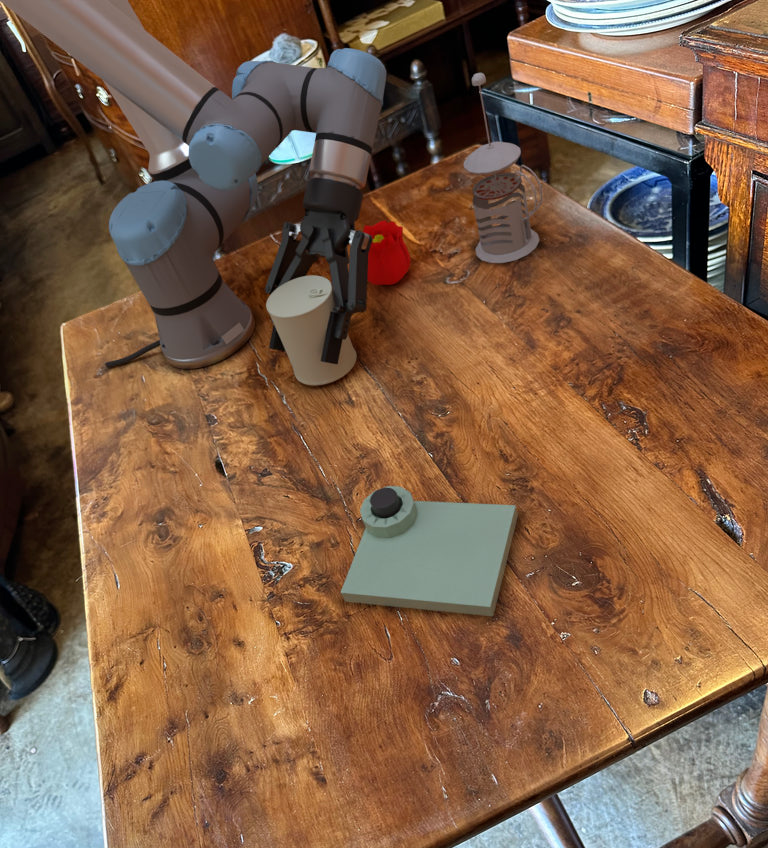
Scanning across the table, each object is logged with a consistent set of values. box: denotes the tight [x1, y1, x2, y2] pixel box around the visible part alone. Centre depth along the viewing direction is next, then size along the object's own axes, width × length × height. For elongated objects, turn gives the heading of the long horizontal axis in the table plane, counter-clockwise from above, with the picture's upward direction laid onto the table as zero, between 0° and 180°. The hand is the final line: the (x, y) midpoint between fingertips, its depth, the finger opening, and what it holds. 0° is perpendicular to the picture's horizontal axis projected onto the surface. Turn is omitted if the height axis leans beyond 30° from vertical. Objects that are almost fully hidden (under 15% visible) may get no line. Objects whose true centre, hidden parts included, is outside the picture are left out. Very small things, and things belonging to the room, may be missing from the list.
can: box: [265, 274, 358, 387], centre depth 107 cm, size 9×9×12 cm
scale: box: [340, 485, 519, 617], centre depth 83 cm, size 16×13×4 cm
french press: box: [463, 72, 543, 264], centre depth 111 cm, size 10×12×25 cm
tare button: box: [370, 487, 401, 518], centre depth 85 cm, size 3×3×2 cm
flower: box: [362, 220, 412, 286], centre depth 120 cm, size 8×8×8 cm
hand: (302, 356), depth 107 cm, fingers closed on can, 9 cm apart
